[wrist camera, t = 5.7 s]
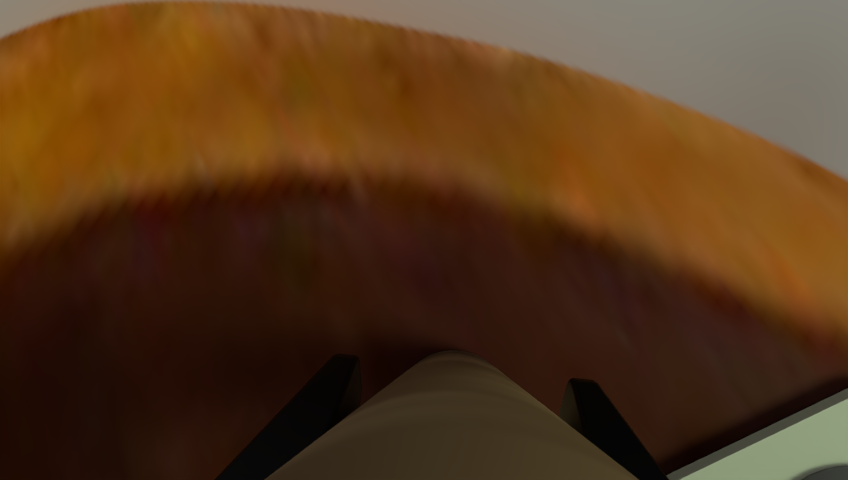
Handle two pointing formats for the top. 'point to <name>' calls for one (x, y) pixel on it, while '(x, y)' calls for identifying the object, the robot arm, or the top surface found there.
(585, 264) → the top surface
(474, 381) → the pin
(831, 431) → the board
